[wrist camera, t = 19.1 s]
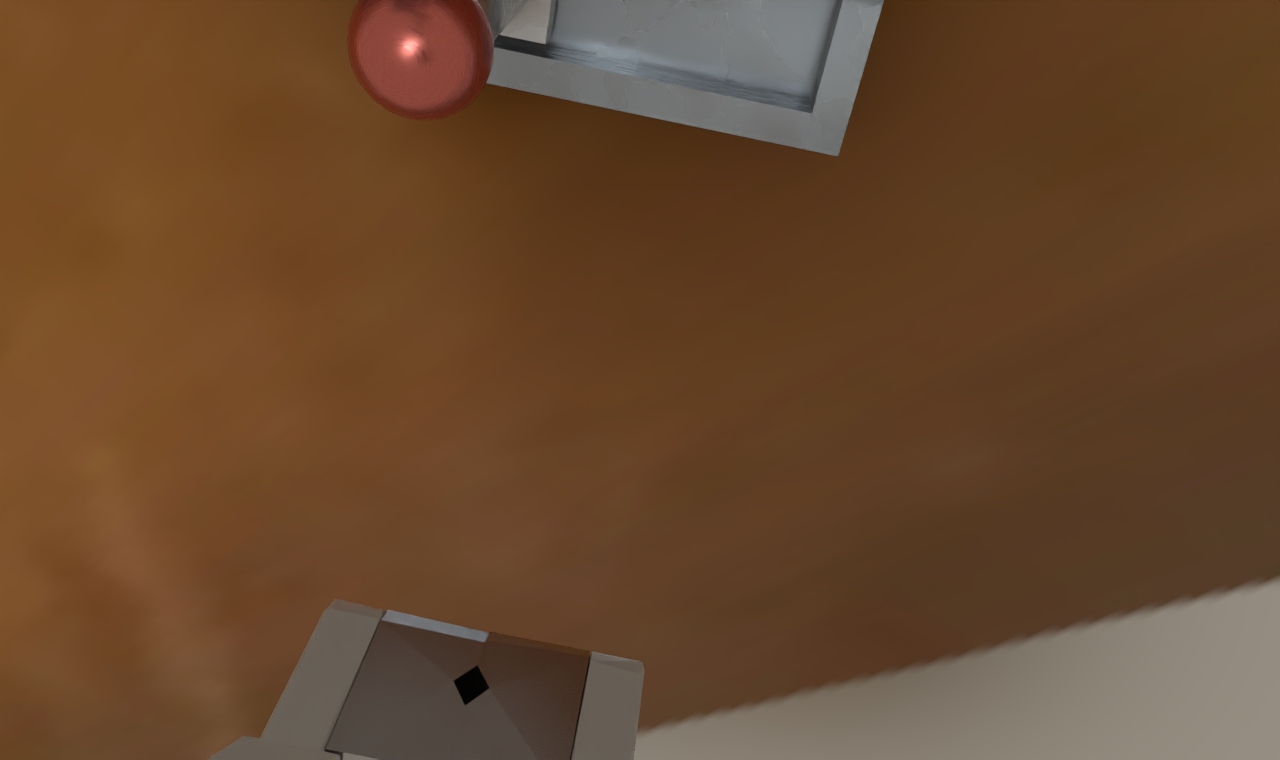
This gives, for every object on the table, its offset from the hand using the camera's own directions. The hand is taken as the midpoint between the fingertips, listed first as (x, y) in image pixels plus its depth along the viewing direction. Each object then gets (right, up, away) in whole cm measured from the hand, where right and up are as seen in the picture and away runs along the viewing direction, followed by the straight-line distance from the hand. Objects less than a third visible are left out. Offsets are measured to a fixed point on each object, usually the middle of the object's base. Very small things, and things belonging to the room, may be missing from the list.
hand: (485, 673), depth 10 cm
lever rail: (+1, +16, +25) cm, 29 cm away
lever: (-3, +16, +23) cm, 28 cm away
